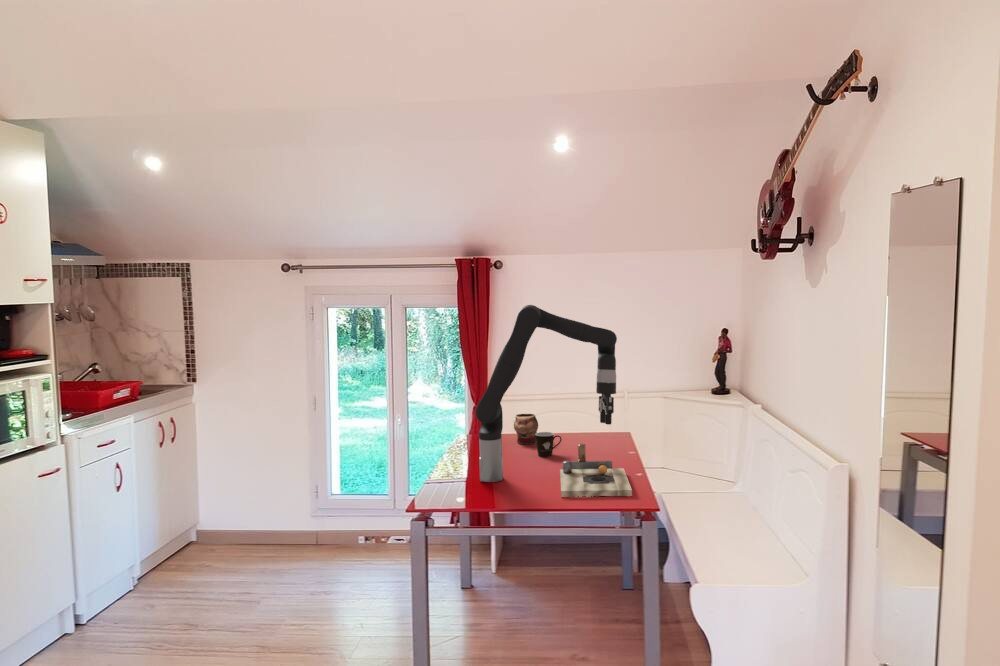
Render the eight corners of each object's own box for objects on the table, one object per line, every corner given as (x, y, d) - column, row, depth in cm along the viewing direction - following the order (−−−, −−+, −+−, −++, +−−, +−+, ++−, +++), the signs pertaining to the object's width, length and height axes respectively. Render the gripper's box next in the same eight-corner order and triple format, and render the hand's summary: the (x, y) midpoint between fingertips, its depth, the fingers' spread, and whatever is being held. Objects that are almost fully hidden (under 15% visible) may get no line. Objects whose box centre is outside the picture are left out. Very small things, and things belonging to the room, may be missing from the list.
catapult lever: (563, 473, 267) (562, 446, 266) (563, 471, 271) (562, 443, 270) (612, 472, 266) (612, 445, 265) (612, 470, 269) (611, 442, 268)
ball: (598, 475, 264) (598, 466, 263) (598, 472, 267) (597, 464, 267) (607, 475, 263) (607, 466, 263) (607, 472, 267) (606, 464, 266)
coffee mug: (534, 457, 303) (533, 436, 302) (537, 452, 311) (536, 431, 310) (559, 458, 300) (558, 436, 299) (562, 453, 308) (561, 432, 308)
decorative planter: (516, 437, 344) (515, 410, 343) (539, 436, 342) (538, 410, 341) (512, 446, 324) (511, 418, 323) (537, 446, 323) (536, 418, 322)
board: (561, 497, 246) (561, 491, 246) (560, 475, 274) (560, 469, 274) (632, 496, 244) (631, 489, 244) (623, 474, 272) (623, 468, 272)
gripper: (592, 381, 264) (592, 422, 263) (601, 381, 250) (600, 424, 249) (611, 381, 265) (610, 422, 264) (620, 381, 251) (620, 425, 249)
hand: (605, 423), depth 256 cm, fingers open, 8 cm apart
